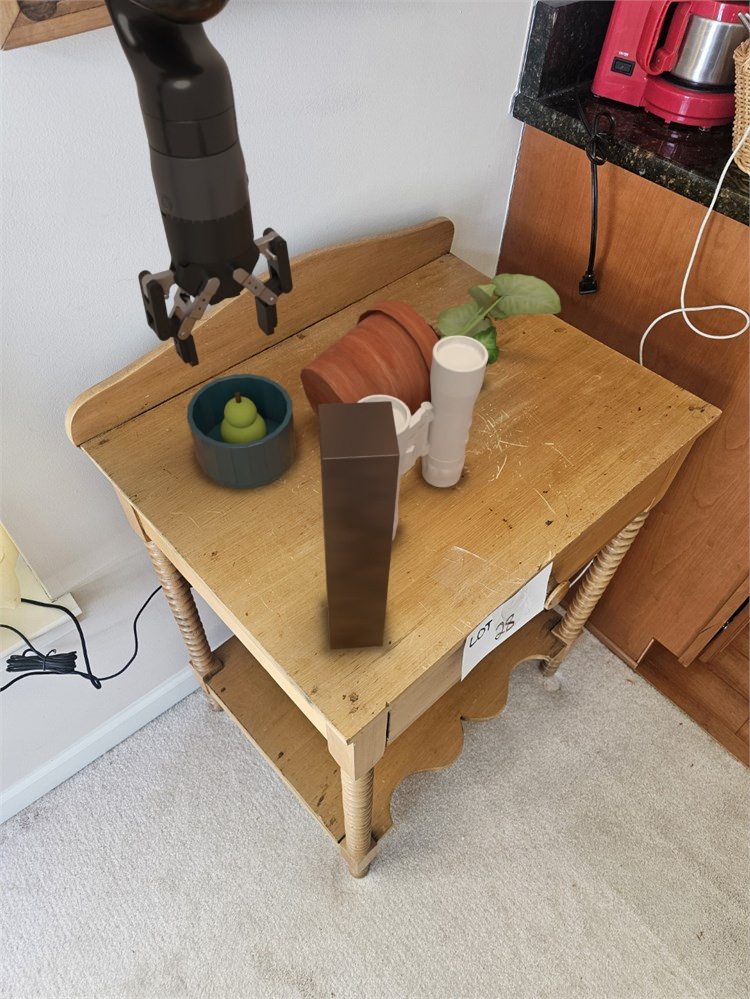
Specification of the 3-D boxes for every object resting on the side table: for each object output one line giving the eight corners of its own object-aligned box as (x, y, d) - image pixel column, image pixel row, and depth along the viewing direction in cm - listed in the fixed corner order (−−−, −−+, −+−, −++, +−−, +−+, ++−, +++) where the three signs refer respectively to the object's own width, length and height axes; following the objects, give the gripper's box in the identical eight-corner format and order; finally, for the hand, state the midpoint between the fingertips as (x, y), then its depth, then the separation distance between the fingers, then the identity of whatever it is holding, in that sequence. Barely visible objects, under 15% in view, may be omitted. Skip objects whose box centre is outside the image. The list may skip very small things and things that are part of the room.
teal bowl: (194, 491, 80) (183, 450, 74) (200, 418, 87) (190, 375, 81) (297, 486, 80) (293, 444, 75) (294, 414, 88) (291, 371, 82)
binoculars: (437, 448, 85) (455, 327, 71) (473, 471, 83) (499, 352, 69) (339, 532, 77) (337, 415, 62) (376, 561, 74) (383, 446, 60)
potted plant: (372, 490, 83) (568, 350, 95) (360, 396, 71) (587, 250, 83) (294, 421, 90) (485, 300, 103) (272, 326, 78) (491, 202, 91)
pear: (223, 464, 81) (211, 410, 74) (224, 431, 84) (214, 377, 77) (268, 461, 82) (261, 408, 75) (268, 429, 85) (261, 375, 78)
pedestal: (329, 650, 68) (321, 459, 46) (326, 603, 71) (318, 403, 49) (382, 646, 68) (400, 455, 46) (377, 599, 72) (391, 400, 50)
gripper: (256, 152, 63) (271, 303, 76) (103, 196, 57) (148, 351, 70) (300, 188, 59) (309, 341, 72) (141, 239, 54) (181, 394, 67)
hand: (229, 345), depth 71 cm, fingers open, 8 cm apart
